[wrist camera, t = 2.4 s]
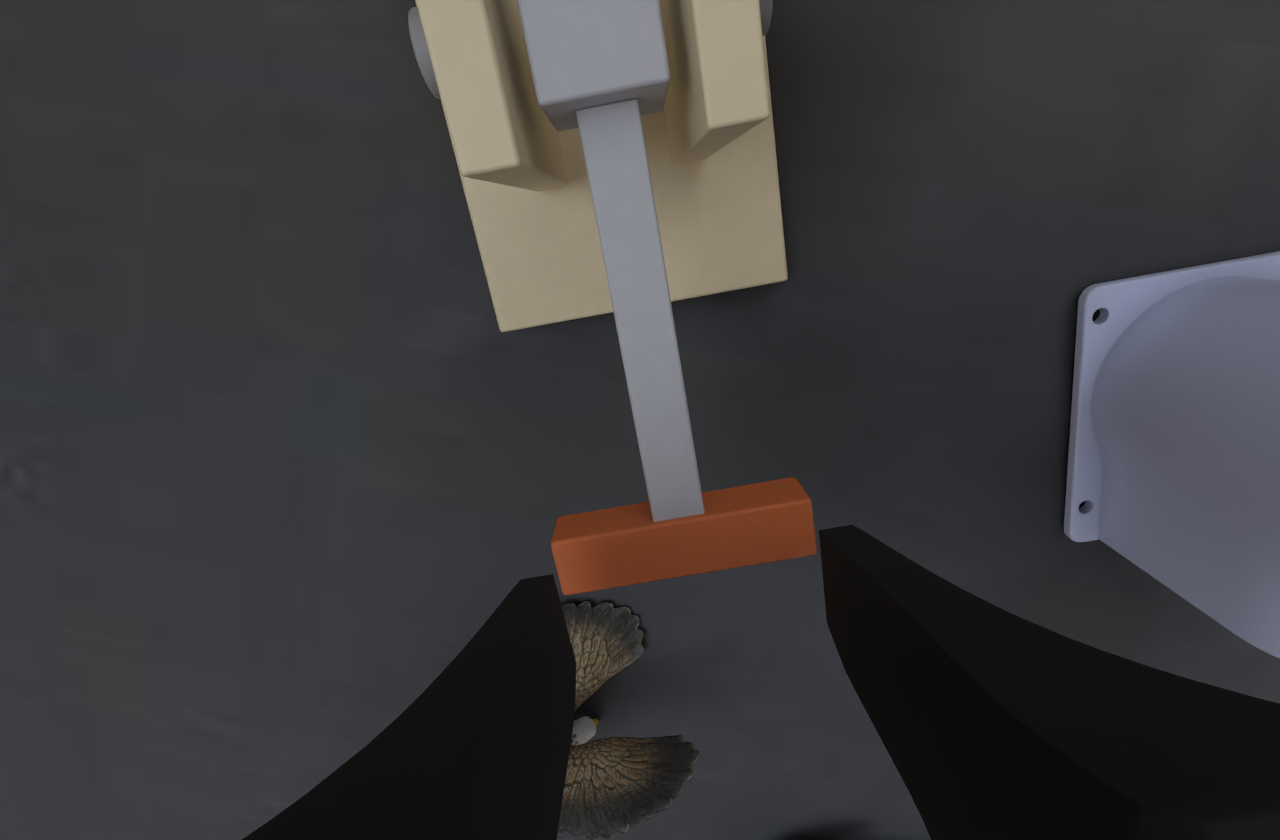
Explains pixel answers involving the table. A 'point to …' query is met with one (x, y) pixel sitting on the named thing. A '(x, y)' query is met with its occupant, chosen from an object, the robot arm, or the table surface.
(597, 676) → the eagle figurine
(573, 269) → the beige mounting bracket
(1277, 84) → the table surface
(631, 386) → the lever
